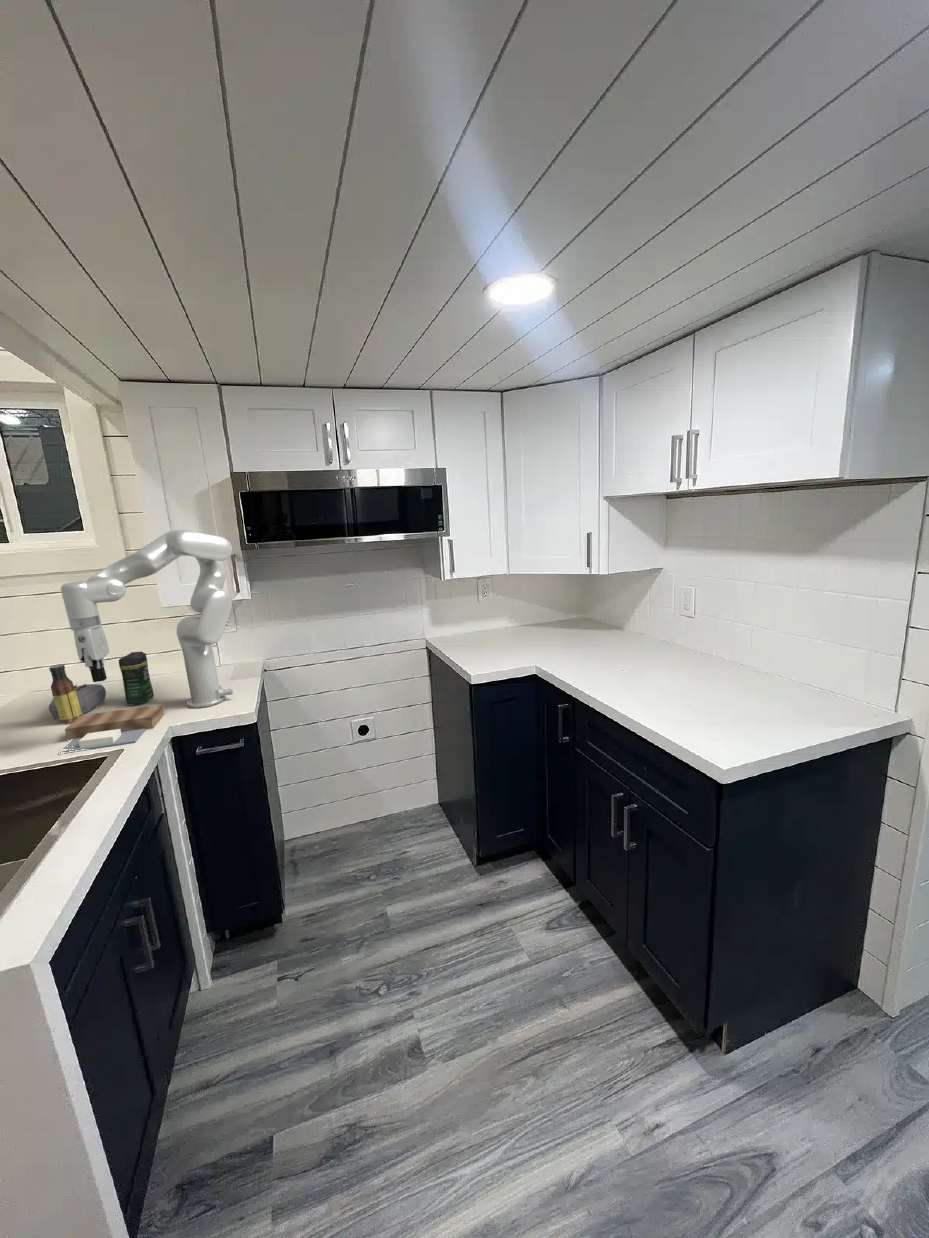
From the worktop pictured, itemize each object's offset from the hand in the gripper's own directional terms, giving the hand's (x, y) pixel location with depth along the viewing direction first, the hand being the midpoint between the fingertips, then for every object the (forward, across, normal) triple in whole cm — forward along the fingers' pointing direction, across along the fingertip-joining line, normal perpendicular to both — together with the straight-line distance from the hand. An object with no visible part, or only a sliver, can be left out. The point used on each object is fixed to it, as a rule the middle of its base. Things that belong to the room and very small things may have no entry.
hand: (100, 680), depth 160 cm
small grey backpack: (+19, +33, +22) cm, 44 cm away
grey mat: (+18, -5, +1) cm, 19 cm away
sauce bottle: (+18, +20, +20) cm, 34 cm away
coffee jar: (+19, +32, +2) cm, 37 cm away
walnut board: (+18, +6, +1) cm, 19 cm away
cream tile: (+15, -6, +1) cm, 16 cm away
